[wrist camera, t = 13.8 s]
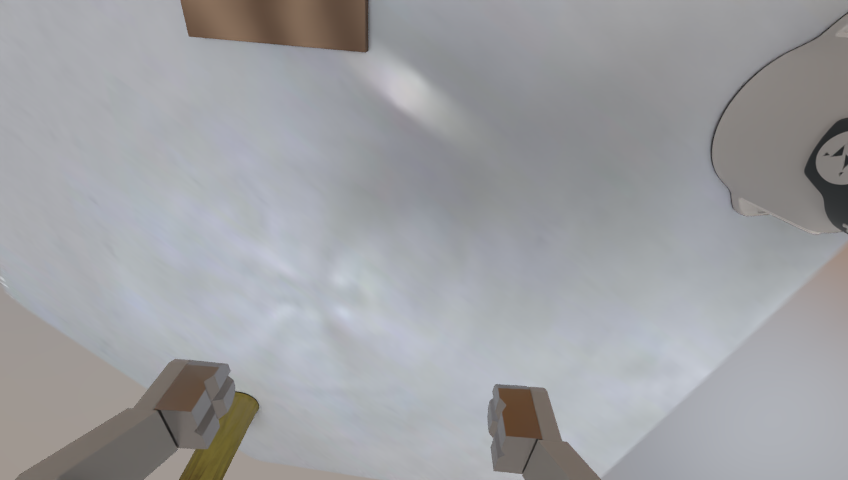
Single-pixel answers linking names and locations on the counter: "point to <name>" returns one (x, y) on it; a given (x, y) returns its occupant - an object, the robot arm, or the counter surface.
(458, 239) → the counter surface
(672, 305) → the counter surface
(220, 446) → the vase
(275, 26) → the walnut board
